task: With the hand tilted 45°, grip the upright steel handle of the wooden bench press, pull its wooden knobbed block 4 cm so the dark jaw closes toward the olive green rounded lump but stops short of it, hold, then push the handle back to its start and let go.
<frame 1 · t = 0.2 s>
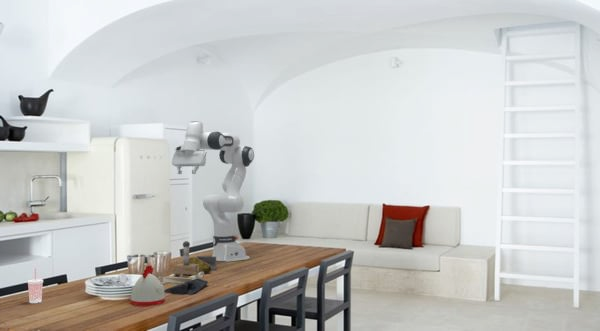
hand: (186, 173, 330), 52 cm above the table, tool tilted 20°, fingers open, 8 cm apart
wooden knobbed block: (186, 258, 307), point 10 cm above the table, slide at 0.0 cm
olive green rounded lump: (198, 273, 322), on the table
dark slate chunk: (188, 290, 282), on the table
grey and red dome: (147, 302, 257), on the table
beverage cup: (35, 302, 257), on the table
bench: (191, 276, 312), on the table
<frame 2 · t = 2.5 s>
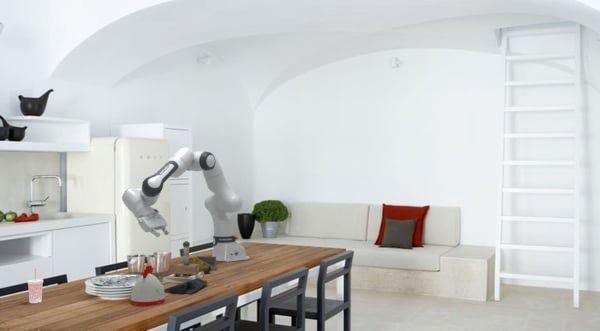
hand: (163, 235, 309), 21 cm above the table, tool tilted 45°, fingers open, 8 cm apart
nothing on the table moved.
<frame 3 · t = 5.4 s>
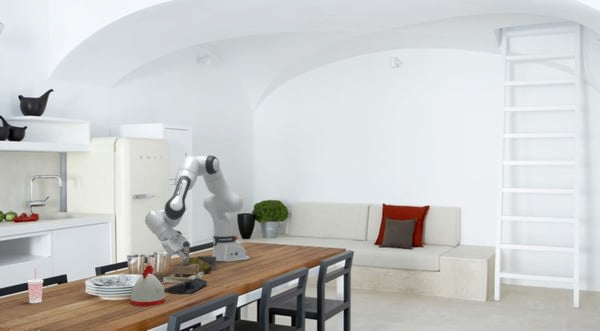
hand: (187, 257, 306), 10 cm above the table, tool tilted 45°, fingers closed on wooden knobbed block, 3 cm apart
wooden knobbed block: (186, 258, 307), point 10 cm above the table, slide at 0.0 cm, touching gripper
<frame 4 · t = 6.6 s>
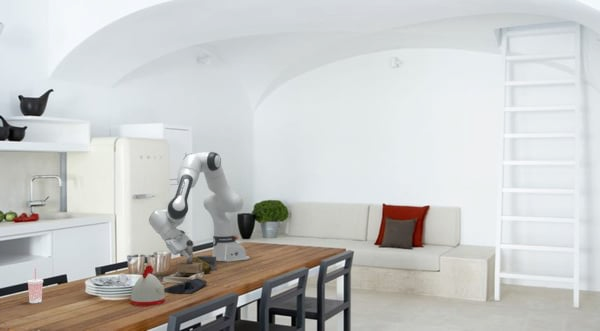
hand: (190, 257, 310), 10 cm above the table, tool tilted 45°, fingers closed on wooden knobbed block, 3 cm apart
wooden knobbed block: (190, 257, 311), point 10 cm above the table, slide at 4.1 cm, touching gripper
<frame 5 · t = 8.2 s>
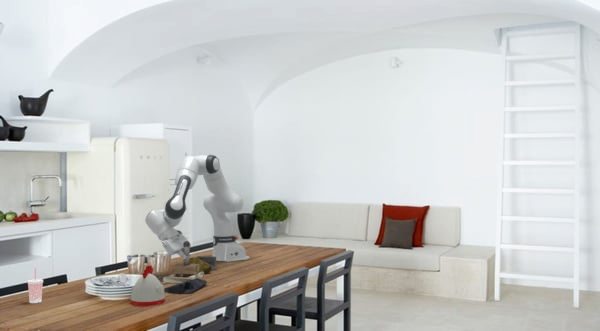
hand: (187, 257, 306), 11 cm above the table, tool tilted 45°, fingers closed on wooden knobbed block, 3 cm apart
wooden knobbed block: (187, 258, 307), point 10 cm above the table, slide at 0.3 cm, touching gripper
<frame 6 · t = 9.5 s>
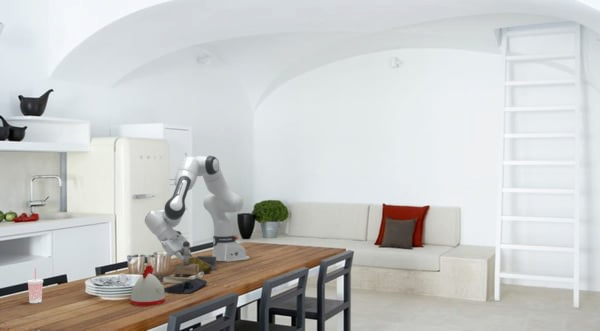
hand: (187, 258, 306), 10 cm above the table, tool tilted 45°, fingers open, 8 cm apart
wooden knobbed block: (186, 258, 307), point 10 cm above the table, slide at 0.0 cm
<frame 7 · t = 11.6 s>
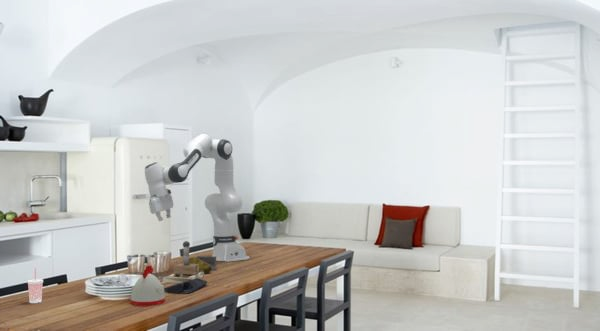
hand: (164, 219, 323), 28 cm above the table, tool pointing down, fingers open, 8 cm apart
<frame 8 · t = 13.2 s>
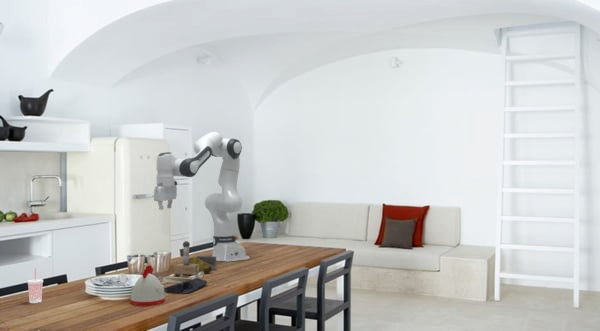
hand: (165, 208, 327), 33 cm above the table, tool pointing down, fingers open, 8 cm apart
dark slate chunk: (185, 290, 283), on the table, touching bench
everything else where it was.
at the end: wooden knobbed block slide at 0.0 cm; olive green rounded lump moved 0.4 cm from its start; the gripper is holding nothing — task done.
